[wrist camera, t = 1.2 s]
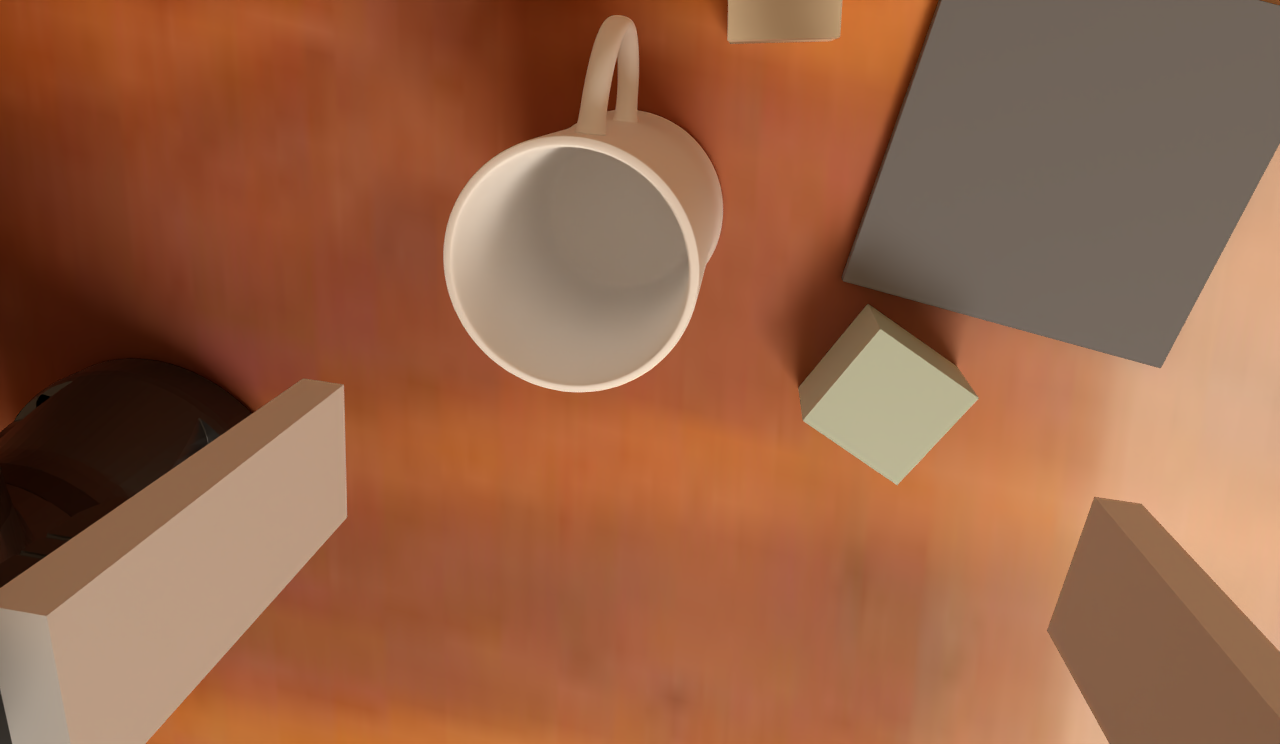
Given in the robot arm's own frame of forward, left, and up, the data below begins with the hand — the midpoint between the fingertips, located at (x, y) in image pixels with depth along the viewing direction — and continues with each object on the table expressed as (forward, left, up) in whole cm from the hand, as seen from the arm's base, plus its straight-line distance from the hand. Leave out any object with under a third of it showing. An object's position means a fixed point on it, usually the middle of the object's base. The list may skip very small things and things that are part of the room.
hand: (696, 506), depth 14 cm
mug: (-5, +2, -23) cm, 24 cm away
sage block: (+8, -4, -23) cm, 25 cm away
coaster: (+12, +7, -23) cm, 27 cm away
